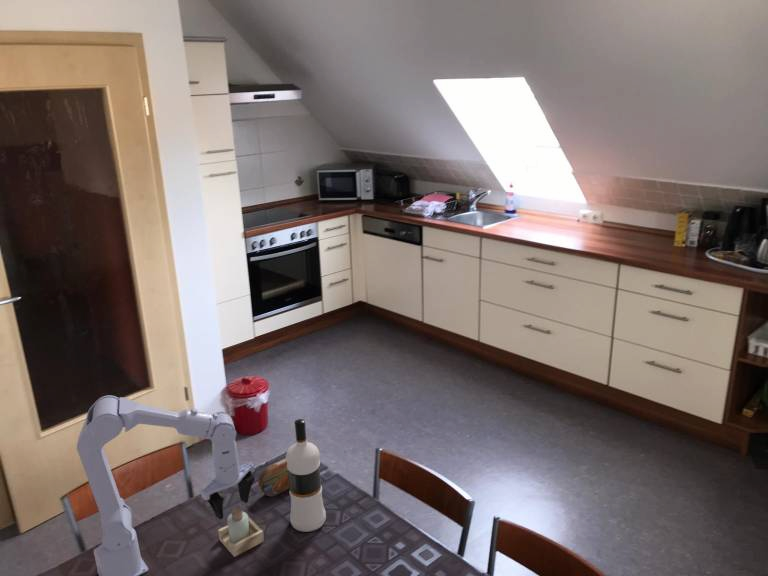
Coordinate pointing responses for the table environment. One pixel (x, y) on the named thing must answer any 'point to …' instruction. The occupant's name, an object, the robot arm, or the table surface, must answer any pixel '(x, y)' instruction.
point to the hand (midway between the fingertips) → (232, 509)
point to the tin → (274, 478)
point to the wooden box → (245, 544)
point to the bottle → (238, 525)
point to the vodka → (305, 483)
